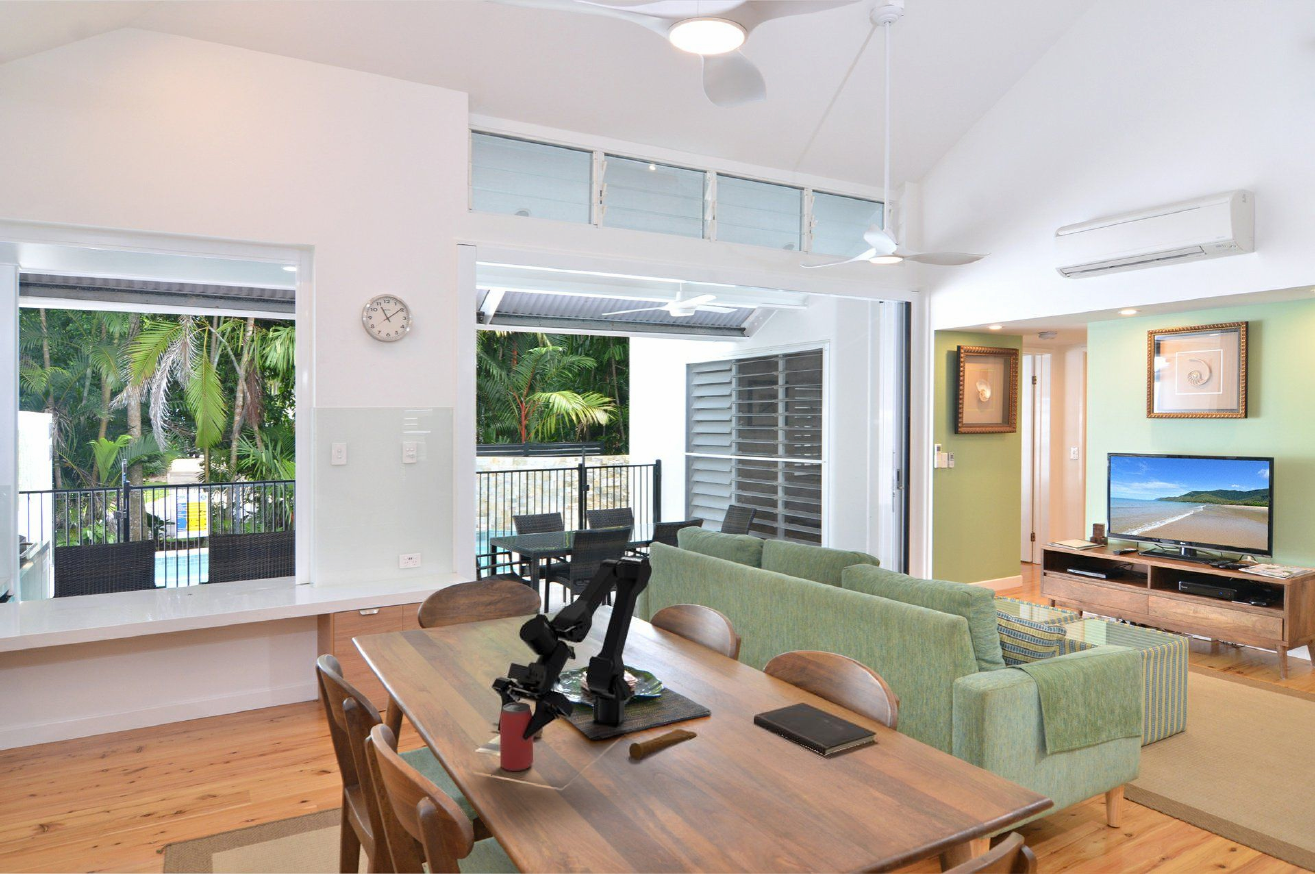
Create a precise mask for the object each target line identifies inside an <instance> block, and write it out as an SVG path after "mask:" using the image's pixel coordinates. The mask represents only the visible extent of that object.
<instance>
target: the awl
mask: <svg viewBox="0 0 1315 874" xmlns="http://www.w3.org/2000/svg"><path fill="white" fill-rule="evenodd" d="M492 725H493V726H494V727H495V726H496V727H498V725H499V722H493V724H492ZM543 728H544V727H543ZM543 728H541V729H540V730H539V731H538V732H536V733H535V734H534V735H533V737H535V738H541V737H542V736H543V734H544V729H543Z"/></svg>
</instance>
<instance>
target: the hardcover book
mask: <svg viewBox="0 0 1315 874" xmlns="http://www.w3.org/2000/svg"><path fill="white" fill-rule="evenodd" d="M753 723H754V724H756V725H758V726H760V727H762V726H763V728H764V727H765V728H764V729H767V730H768V729H769V730H768V731H770V730H771V731H770V732H772V731H773V733H774V732H775V734H777V733H778V734H777V735H779V736H781V735H783V736H784V737H783V736H782V737H783V738H785V737H787V738H788V739H787V738H786V739H787V740H789V739H790V740H789V741H791V740H793V741H795V742H798V743H799V744H798V745H800V744H802V745H804V746H807V747H809V748H811V749H813V750H816V751H818V752H819V753H822V754H823V755H825V754H827V753H831V752H834V751H836V750H840V749H843V748H848V747H850V746H854V745H857V744H861V745H863V744H862V743H864V742H867V743H869V741H871V742H873V741H872V740H874V741H875V735H877V732H875V731H873V730H870V729H868V728H866V727H863V726H860V725H858V724H855V723H854V722H851V721H849V720H847V719H844V718H842V717H838V716H837V715H834V714H832V713H829V712H827V711H825V710H823V709H820V708H817V707H814V706H813V705H810V704H808V703H805V702H800V703H797V704H792V705H788V706H784V707H781V708H777V709H773V710H768V711H766V712H765V711H764V712H761V713H757V714H755V715H754V716H753ZM793 741H792V742H793ZM795 742H794V743H795ZM864 744H865V743H864ZM802 745H801V746H802ZM804 746H803V747H804ZM848 749H849V748H848ZM823 755H822V756H823Z"/></svg>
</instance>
